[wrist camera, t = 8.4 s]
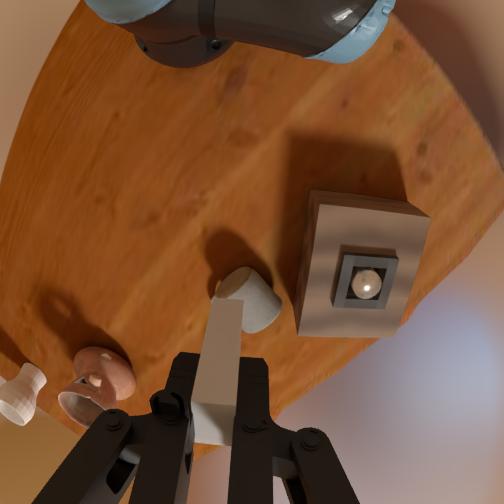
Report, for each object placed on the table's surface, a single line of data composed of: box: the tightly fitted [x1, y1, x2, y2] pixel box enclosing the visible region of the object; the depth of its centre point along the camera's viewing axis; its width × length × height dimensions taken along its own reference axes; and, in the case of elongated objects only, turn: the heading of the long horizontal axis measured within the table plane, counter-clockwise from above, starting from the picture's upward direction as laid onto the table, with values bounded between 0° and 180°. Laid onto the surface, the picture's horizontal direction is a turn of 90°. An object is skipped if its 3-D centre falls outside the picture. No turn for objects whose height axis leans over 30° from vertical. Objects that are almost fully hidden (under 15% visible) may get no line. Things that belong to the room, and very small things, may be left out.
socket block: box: [293, 189, 431, 337], centre depth 46 cm, size 20×16×9 cm
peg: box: [350, 266, 382, 299], centre depth 45 cm, size 4×4×8 cm
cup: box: [0, 363, 46, 426], centre depth 59 cm, size 11×11×15 cm
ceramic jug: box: [58, 346, 136, 428], centre depth 55 cm, size 18×14×14 cm
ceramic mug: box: [211, 266, 282, 333], centre depth 50 cm, size 11×8×8 cm
